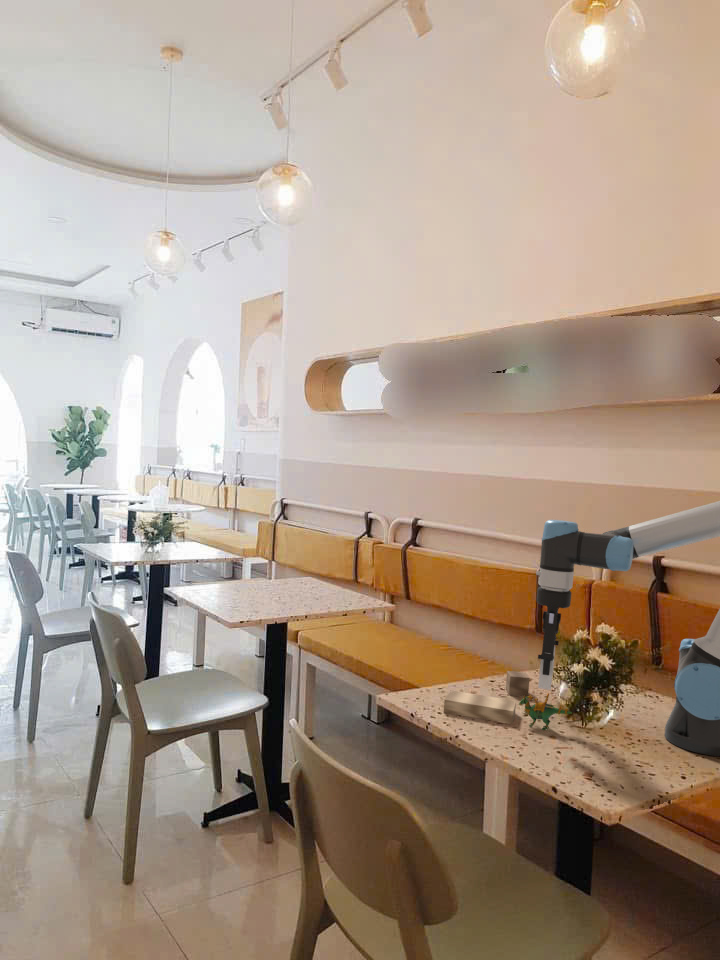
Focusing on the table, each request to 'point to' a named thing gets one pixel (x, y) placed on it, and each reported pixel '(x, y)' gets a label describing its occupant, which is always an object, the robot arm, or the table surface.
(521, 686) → the grey brown cube
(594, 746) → the table surface
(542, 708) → the figurine
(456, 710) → the beige rectangular block
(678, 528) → the robot arm
